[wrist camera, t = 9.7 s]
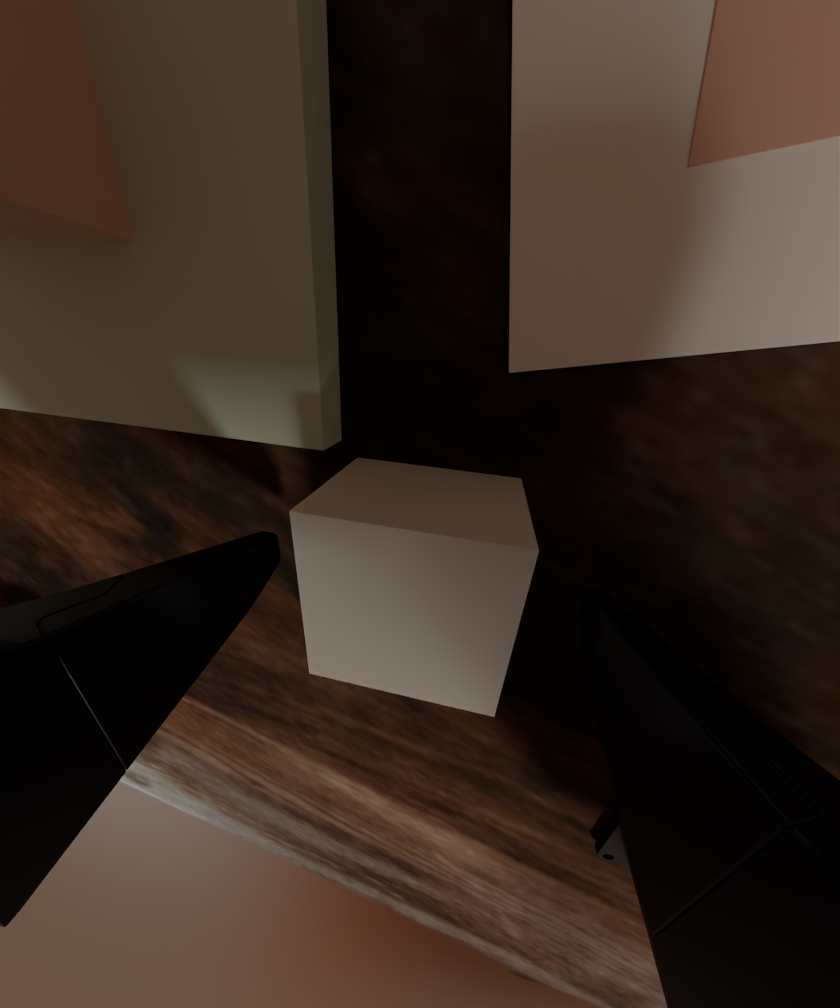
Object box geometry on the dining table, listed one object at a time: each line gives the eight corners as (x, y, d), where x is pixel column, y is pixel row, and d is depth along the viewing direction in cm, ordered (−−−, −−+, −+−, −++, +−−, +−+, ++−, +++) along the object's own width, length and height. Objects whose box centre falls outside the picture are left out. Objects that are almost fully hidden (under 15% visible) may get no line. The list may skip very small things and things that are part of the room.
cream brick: (493, 606, 12) (494, 716, 8) (361, 581, 12) (309, 673, 9) (520, 476, 10) (538, 550, 6) (359, 456, 10) (289, 511, 7)
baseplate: (341, 440, 10) (323, 450, 9) (-15, 395, 12) (-65, 399, 11) (301, -722, 4) (227, -1134, 3) (-412, -410, 6) (-614, -580, 5)
